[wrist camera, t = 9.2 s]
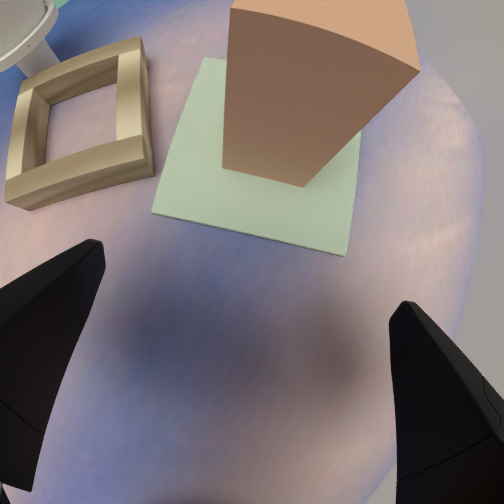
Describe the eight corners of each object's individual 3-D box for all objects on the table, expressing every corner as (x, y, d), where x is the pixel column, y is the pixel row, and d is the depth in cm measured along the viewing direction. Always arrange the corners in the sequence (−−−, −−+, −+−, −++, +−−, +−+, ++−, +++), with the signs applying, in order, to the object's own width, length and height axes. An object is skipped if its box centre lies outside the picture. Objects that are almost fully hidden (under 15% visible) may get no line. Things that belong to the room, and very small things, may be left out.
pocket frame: (154, 175, 17) (143, 158, 14) (29, 211, 16) (4, 202, 13) (148, 60, 17) (140, 36, 14) (38, 98, 16) (22, 80, 13)
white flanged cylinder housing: (62, 35, 17) (9, -67, 2) (93, 59, 17) (30, -73, 2) (8, 86, 16) (-70, 2, 1) (30, 119, 16) (-75, 17, 1)
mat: (342, 256, 18) (345, 256, 17) (153, 214, 17) (150, 211, 16) (359, 102, 19) (362, 98, 18) (204, 62, 18) (204, 57, 17)
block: (302, 187, 17) (420, 71, 5) (222, 168, 17) (230, 7, 5) (313, 120, 18) (400, -12, 6) (240, 101, 17) (267, -56, 5)
